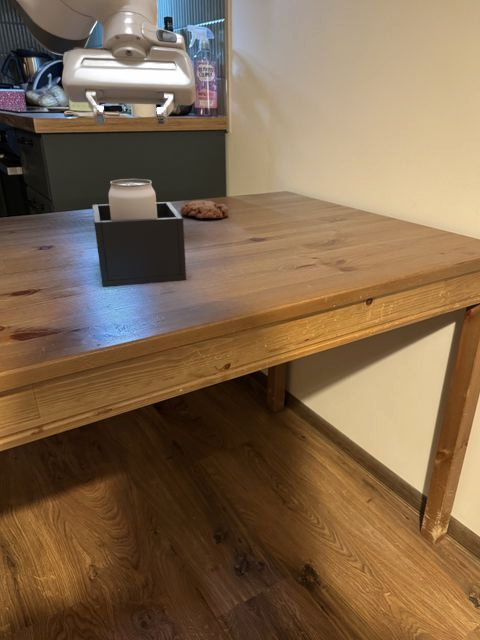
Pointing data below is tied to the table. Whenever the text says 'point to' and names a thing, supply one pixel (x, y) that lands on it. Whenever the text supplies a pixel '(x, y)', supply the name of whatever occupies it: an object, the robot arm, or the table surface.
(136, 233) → the dark grey open box
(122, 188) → the can
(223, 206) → the cookie
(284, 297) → the table surface
